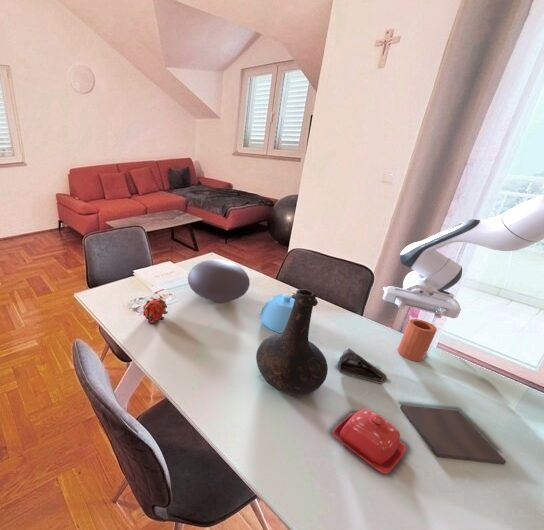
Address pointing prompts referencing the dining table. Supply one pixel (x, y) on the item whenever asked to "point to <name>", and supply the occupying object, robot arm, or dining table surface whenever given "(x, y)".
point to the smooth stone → (218, 280)
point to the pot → (416, 339)
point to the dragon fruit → (154, 309)
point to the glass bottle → (293, 352)
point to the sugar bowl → (277, 312)
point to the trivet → (451, 434)
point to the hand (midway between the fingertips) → (419, 311)
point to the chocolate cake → (359, 367)
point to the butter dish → (371, 439)
